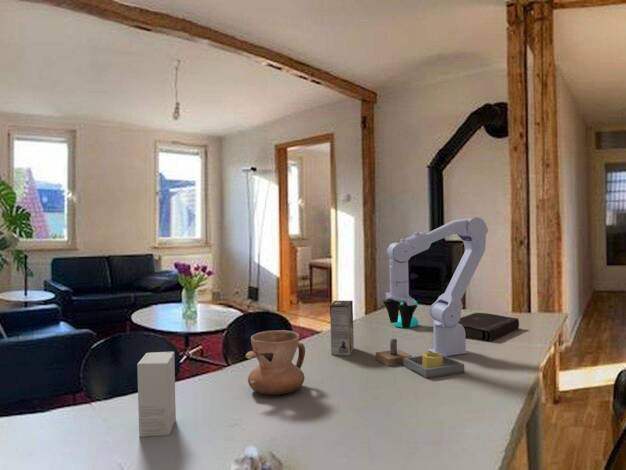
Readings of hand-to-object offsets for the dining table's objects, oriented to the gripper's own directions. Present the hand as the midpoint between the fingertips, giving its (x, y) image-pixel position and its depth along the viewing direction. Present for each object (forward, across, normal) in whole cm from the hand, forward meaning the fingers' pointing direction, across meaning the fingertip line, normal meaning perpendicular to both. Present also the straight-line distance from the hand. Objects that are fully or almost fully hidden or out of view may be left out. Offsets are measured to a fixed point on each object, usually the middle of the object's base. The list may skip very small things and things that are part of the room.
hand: (399, 325), depth 155 cm
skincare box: (+10, +26, -73) cm, 78 cm away
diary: (+11, -16, +43) cm, 47 cm away
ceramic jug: (+10, +13, -43) cm, 46 cm away
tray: (+10, +15, +2) cm, 18 cm away
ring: (+9, +15, +2) cm, 18 cm away
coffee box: (+10, -13, -14) cm, 22 cm away
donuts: (+10, -37, +23) cm, 45 cm away
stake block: (+10, +3, -4) cm, 11 cm away
